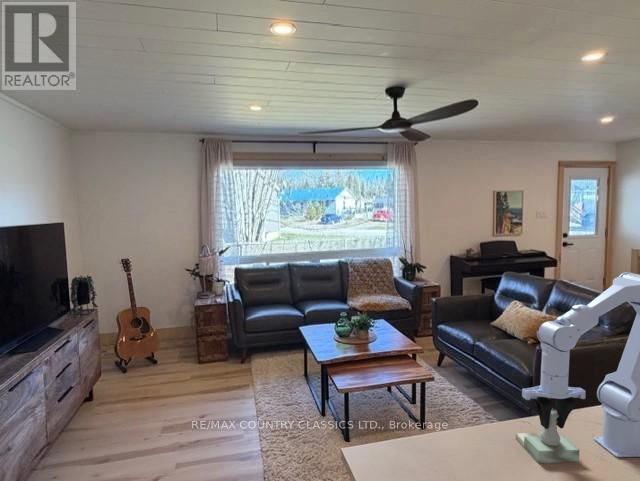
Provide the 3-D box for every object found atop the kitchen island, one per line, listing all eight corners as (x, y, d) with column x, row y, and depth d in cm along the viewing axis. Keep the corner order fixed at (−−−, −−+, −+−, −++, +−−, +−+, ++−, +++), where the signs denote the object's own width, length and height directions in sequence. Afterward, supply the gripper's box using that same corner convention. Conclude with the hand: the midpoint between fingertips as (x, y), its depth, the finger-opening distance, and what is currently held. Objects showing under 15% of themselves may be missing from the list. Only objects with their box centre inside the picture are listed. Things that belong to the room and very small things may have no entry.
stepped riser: (552, 437, 106) (553, 426, 105) (578, 461, 96) (579, 449, 95) (515, 438, 105) (516, 427, 105) (537, 463, 95) (538, 450, 95)
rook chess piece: (563, 448, 96) (565, 415, 96) (543, 446, 97) (545, 414, 96) (556, 437, 101) (557, 406, 100) (536, 435, 101) (538, 405, 101)
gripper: (572, 365, 101) (570, 417, 102) (516, 366, 101) (514, 418, 102) (593, 377, 94) (589, 432, 95) (532, 378, 93) (529, 434, 95)
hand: (552, 426), depth 98 cm, fingers closed on rook chess piece, 3 cm apart
